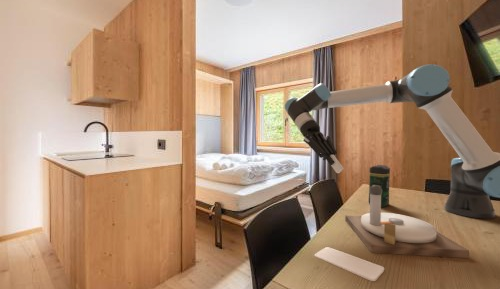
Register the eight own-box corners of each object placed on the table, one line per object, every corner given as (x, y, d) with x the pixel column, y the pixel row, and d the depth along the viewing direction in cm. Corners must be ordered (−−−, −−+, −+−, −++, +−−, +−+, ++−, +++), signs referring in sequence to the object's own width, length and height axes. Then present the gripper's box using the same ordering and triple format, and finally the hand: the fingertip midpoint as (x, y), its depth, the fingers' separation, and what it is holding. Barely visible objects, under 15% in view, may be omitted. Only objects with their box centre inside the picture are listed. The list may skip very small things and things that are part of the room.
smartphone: (327, 246, 65) (385, 267, 54) (327, 248, 65) (385, 270, 54) (313, 255, 60) (374, 280, 49) (313, 257, 60) (374, 283, 49)
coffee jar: (385, 208, 101) (386, 166, 100) (366, 204, 106) (367, 165, 106) (391, 204, 108) (392, 165, 107) (373, 200, 113) (373, 163, 113)
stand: (413, 223, 83) (414, 204, 83) (468, 258, 59) (469, 231, 59) (345, 220, 86) (345, 202, 86) (371, 252, 62) (371, 227, 62)
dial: (397, 216, 84) (398, 177, 84) (455, 240, 64) (456, 190, 64) (348, 219, 80) (349, 179, 80) (393, 246, 61) (394, 193, 60)
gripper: (314, 132, 100) (345, 175, 87) (291, 132, 94) (321, 178, 80) (323, 119, 96) (358, 163, 82) (300, 118, 89) (334, 165, 75)
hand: (340, 170), depth 81 cm, fingers closed
